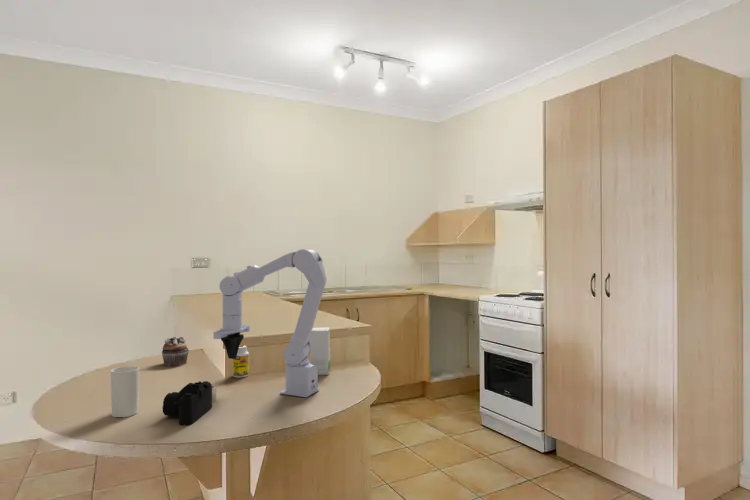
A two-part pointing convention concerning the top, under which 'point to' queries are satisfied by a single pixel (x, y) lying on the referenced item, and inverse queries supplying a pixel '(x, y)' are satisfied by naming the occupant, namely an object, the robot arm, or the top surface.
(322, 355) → the skincare box
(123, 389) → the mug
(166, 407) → the film camera
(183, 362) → the cupcake
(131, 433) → the top surface
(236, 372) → the supplement bottle
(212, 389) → the walnut block
